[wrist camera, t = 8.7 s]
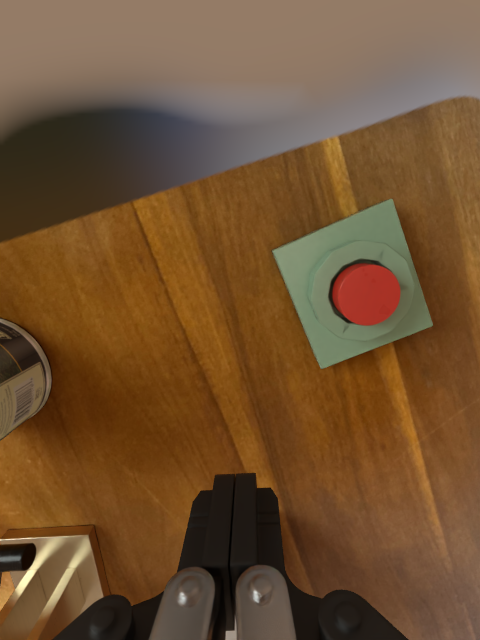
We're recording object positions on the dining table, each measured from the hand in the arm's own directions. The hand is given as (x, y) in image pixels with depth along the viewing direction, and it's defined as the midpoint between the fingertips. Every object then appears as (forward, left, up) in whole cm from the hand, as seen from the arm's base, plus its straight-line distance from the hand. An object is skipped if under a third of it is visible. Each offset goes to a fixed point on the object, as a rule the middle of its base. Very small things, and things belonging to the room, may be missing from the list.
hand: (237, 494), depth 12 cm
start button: (-2, +10, -13) cm, 16 cm away
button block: (-2, +10, -17) cm, 19 cm away
